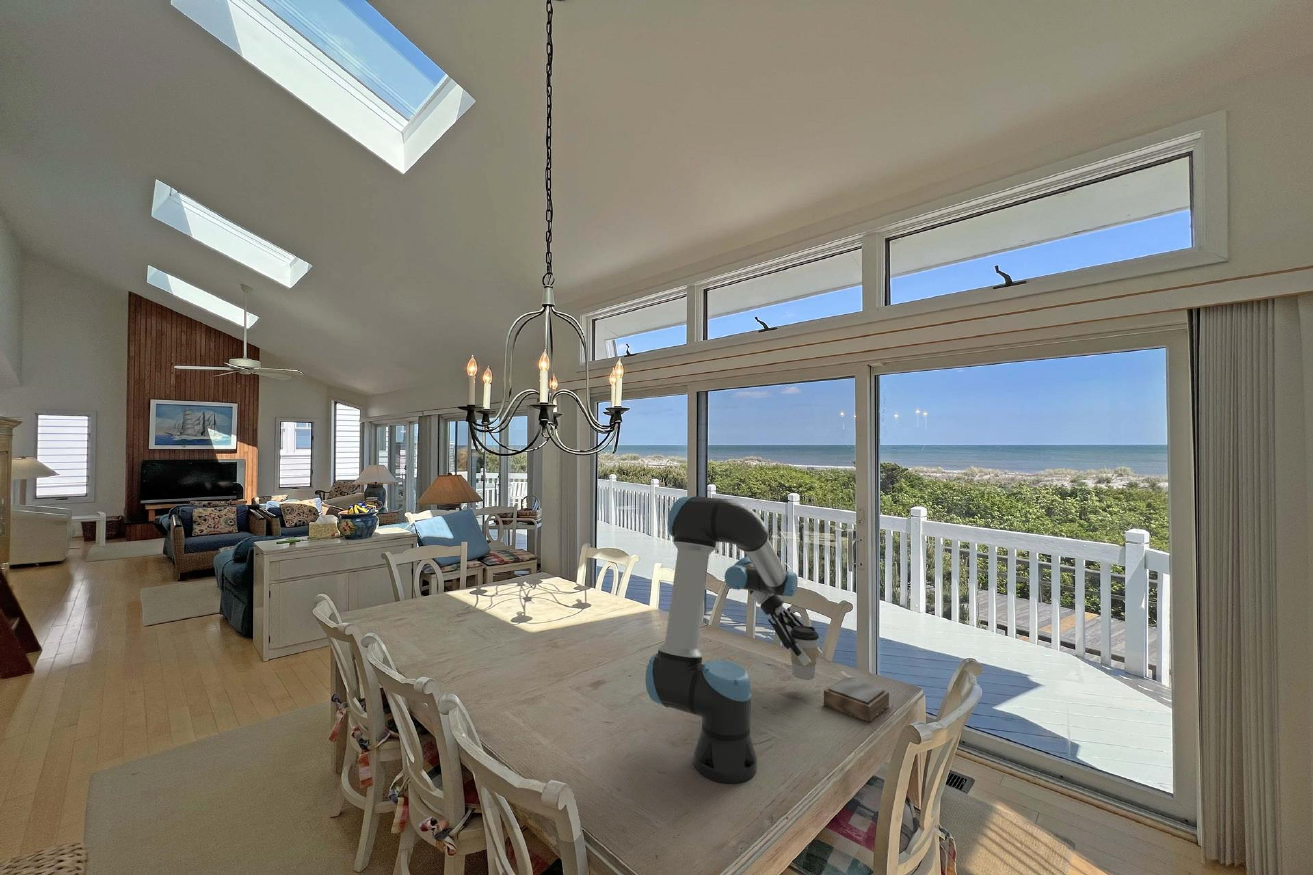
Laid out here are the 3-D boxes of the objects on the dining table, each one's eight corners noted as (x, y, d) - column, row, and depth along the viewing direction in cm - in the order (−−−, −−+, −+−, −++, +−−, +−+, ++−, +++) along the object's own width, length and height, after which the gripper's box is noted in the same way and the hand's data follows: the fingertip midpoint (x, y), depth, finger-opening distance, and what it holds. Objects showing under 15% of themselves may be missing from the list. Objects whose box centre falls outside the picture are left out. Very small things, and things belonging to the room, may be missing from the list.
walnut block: (888, 706, 162) (889, 689, 162) (869, 722, 152) (869, 704, 152) (844, 690, 171) (844, 675, 172) (823, 704, 162) (823, 688, 162)
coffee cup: (798, 682, 164) (799, 633, 165) (783, 670, 173) (784, 624, 174) (823, 679, 167) (824, 631, 167) (808, 668, 176) (809, 622, 176)
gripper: (774, 599, 189) (817, 656, 178) (745, 612, 171) (791, 676, 161) (788, 586, 186) (833, 643, 175) (761, 598, 168) (809, 662, 158)
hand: (813, 659), depth 168 cm, fingers closed on coffee cup, 9 cm apart
